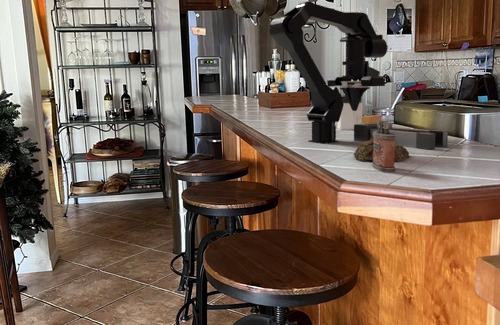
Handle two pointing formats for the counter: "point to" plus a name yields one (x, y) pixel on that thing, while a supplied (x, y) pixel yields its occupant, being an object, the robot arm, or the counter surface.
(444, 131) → the tong arm
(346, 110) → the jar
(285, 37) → the robot arm
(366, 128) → the tongs base
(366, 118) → the lock tab
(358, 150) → the bread roll
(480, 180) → the counter surface
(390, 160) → the lighter
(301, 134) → the counter surface
